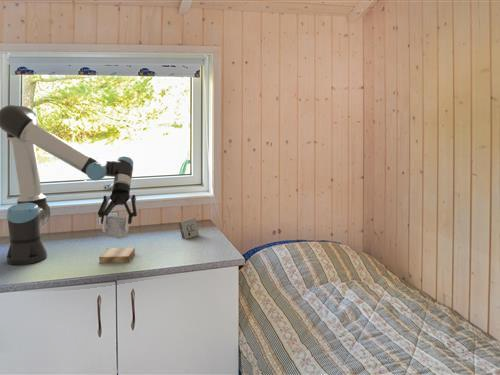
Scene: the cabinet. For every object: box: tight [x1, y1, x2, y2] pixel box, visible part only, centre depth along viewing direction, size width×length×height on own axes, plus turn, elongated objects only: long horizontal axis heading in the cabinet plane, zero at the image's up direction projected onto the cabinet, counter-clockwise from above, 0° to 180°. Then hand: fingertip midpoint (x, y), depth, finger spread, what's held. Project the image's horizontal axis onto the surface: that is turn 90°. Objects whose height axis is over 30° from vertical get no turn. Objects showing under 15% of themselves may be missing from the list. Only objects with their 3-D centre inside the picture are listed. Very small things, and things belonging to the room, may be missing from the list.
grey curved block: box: [106, 215, 129, 240], centre depth 177 cm, size 8×4×9 cm, turn 58°
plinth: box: [98, 247, 136, 264], centre depth 178 cm, size 12×12×2 cm
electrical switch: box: [178, 217, 200, 240], centre depth 211 cm, size 9×5×9 cm, turn 141°
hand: (115, 230), depth 173 cm, fingers closed on grey curved block, 9 cm apart
